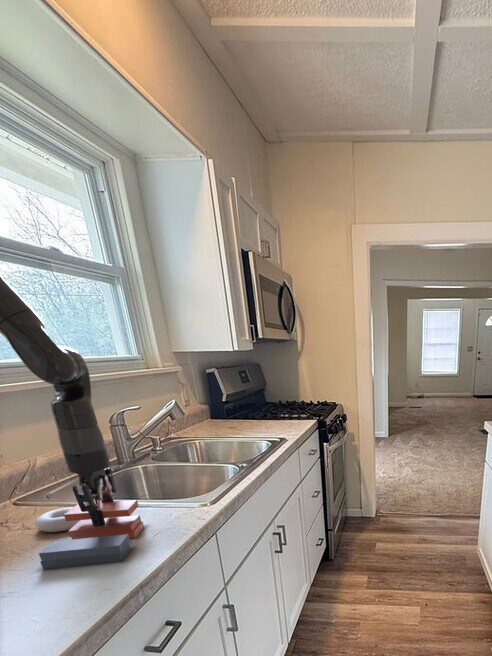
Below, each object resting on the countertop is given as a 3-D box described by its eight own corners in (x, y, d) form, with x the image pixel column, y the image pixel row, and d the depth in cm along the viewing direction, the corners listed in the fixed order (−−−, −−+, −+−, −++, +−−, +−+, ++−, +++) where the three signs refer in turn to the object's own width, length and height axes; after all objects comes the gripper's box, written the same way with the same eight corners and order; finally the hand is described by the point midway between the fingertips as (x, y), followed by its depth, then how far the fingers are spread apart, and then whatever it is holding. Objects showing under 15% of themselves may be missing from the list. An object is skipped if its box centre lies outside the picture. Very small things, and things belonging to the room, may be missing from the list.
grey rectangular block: (42, 569, 79) (36, 553, 77) (56, 556, 84) (51, 541, 82) (123, 561, 82) (118, 545, 80) (132, 549, 87) (128, 534, 85)
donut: (27, 533, 94) (63, 535, 92) (22, 520, 93) (58, 522, 91) (65, 516, 103) (99, 518, 102) (61, 504, 102) (95, 506, 100)
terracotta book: (65, 521, 87) (63, 514, 86) (79, 510, 92) (76, 504, 92) (129, 516, 89) (127, 509, 89) (138, 506, 95) (137, 499, 94)
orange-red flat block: (72, 544, 89) (67, 531, 88) (84, 532, 94) (80, 519, 93) (135, 537, 91) (132, 525, 90) (144, 526, 97) (140, 514, 96)
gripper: (79, 441, 91) (100, 509, 97) (45, 457, 78) (72, 535, 84) (116, 439, 92) (134, 507, 99) (89, 455, 79) (111, 531, 86)
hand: (105, 519), depth 91 cm, fingers closed on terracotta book, 6 cm apart
